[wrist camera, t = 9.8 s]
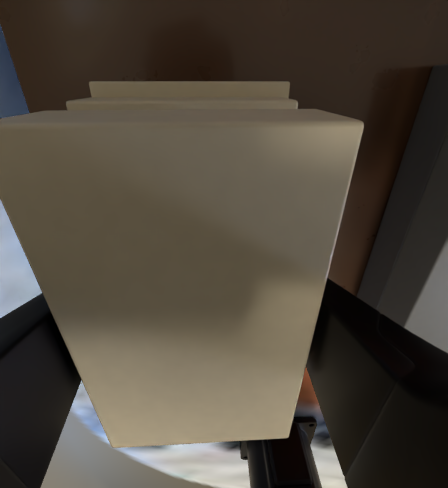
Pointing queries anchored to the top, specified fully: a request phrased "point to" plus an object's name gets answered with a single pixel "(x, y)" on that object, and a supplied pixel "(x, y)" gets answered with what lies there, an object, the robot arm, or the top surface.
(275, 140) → the cream book
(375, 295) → the grey rectangular block
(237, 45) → the walnut board
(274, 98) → the cream books
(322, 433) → the top surface
